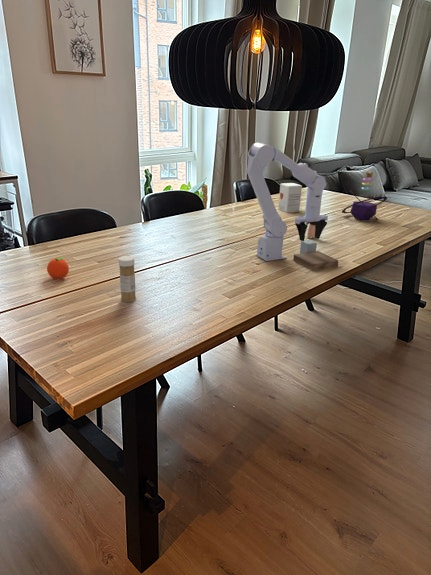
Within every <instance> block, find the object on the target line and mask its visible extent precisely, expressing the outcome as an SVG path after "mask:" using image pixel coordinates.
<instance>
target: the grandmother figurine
mask: <svg viewBox="0 0 431 575" xmlns="http://www.w3.org/2000/svg"><path fill="white" fill-rule="evenodd" d="M305 225H308V227H307V235H306V236H305V239H306V240H311V239H313V240H315V239H317V238H315V222H306V223H305Z"/></svg>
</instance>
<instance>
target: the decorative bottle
mask: <svg viewBox="0 0 431 575" xmlns="http://www.w3.org/2000/svg"><path fill="white" fill-rule="evenodd" d="M373 173H374V172H373V171H365V177H363V178H362V180H363V181H364V182H361V184H362V187H361V190H363V191H368V192H369V191H371V190H373V188H372V187H371V186H373V185H374V184H373V183H372V182H373V181H374V180H375V179H374V178H372V176H373ZM363 186H364V187H363ZM349 191H350V193H351V194H352V195H353V196H354V197H355V198H356V199H357V200H356V201H353V203H352V204H351V205H349V206H346V207H345V208H344V209H342V211H341V213H342V214H351V216H352V217H353V218H354V219H355V220H357V221H361V222H362V221H363V222H364V221H370V219H372V218H373V217H374V218H375V219H376V220H377V221H379V218H377V217H376V214H377V209H378V208H377V207H378V205H381V204H382V203H384V202H385V201H387V199H388V197H387V196H375V197H372V198H366V199H364V200H361V199H360V198H359V197H357V195H356V194H355V193H354V192H352V190H349ZM375 199H376V200H377V199H383V200H382V201H380V202H378V203H374V202H371V200H375ZM350 207H351V209H350ZM347 209H350V211H346V210H347Z"/></svg>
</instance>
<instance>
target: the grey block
mask: <svg viewBox="0 0 431 575" xmlns="http://www.w3.org/2000/svg"><path fill="white" fill-rule="evenodd" d="M317 245H318V242H316V241H314V240H312V239H304V241H301V240H300V247H299V254H302V253H309V252H316V251H317Z"/></svg>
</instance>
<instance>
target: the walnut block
mask: <svg viewBox="0 0 431 575" xmlns="http://www.w3.org/2000/svg"><path fill="white" fill-rule="evenodd" d="M292 261H293V262H295V263H296V264H298V265H300V266H302V267H304V268H306V269H308V270H310V271H312V272H313V271H321V270H326V269H333V268H337V267H338V266H339V262H340V261H339V260H338V259H337V258H334V257H333V256H331V255H328V254H326V253H324V252H322V251H319V250H316V252H309V253H302V254H300V253H297V254H293V259H292Z"/></svg>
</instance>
